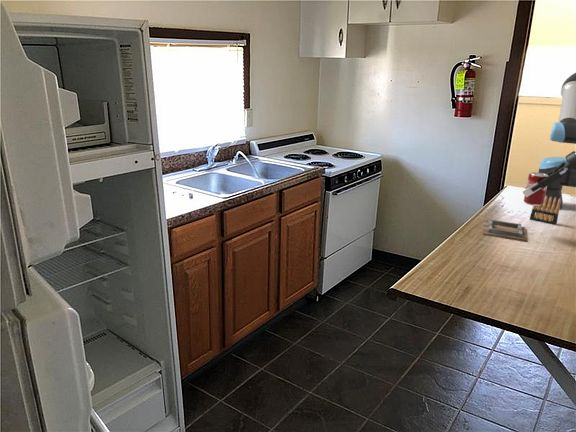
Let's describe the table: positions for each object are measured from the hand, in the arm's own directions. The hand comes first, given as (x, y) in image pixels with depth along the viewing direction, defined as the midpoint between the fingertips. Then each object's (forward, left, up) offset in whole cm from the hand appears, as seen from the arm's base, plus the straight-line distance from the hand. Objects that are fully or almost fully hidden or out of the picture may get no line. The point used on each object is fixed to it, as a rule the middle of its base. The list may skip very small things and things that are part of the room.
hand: (525, 192), depth 193 cm
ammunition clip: (-18, +11, -17) cm, 27 cm away
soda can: (+1, +3, -4) cm, 6 cm away
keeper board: (+4, -5, -17) cm, 18 cm away
